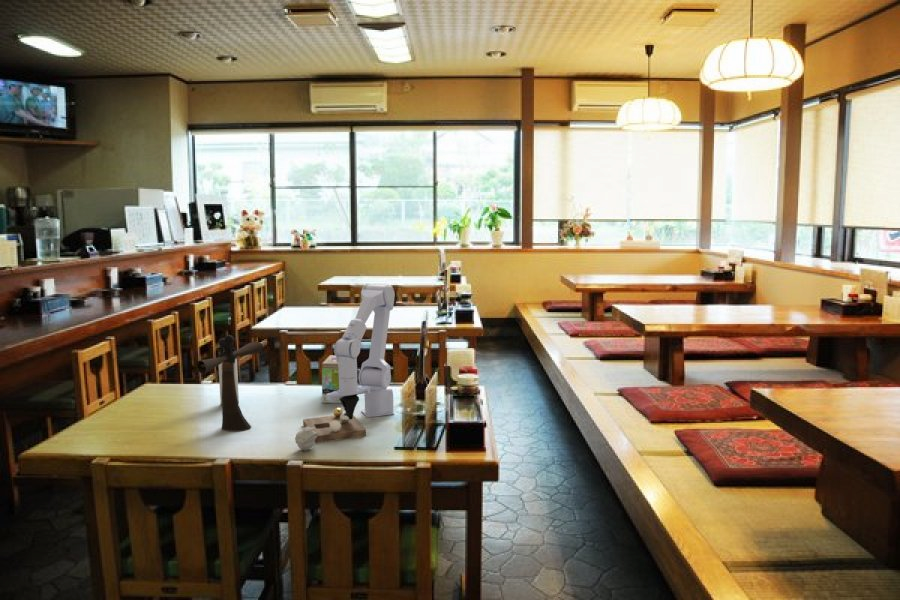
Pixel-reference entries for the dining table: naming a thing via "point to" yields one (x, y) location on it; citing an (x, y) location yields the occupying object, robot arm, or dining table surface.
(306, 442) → the grey rounded lump
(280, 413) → the dining table surface
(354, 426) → the walnut board
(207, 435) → the dining table surface
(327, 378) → the tea box
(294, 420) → the dining table surface
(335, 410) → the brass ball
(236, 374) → the travel mug
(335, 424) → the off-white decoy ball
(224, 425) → the t-shaped wooden sculpture
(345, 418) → the steel ball
